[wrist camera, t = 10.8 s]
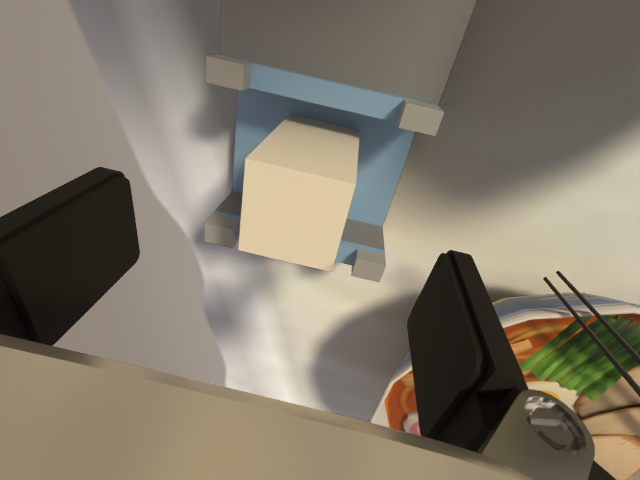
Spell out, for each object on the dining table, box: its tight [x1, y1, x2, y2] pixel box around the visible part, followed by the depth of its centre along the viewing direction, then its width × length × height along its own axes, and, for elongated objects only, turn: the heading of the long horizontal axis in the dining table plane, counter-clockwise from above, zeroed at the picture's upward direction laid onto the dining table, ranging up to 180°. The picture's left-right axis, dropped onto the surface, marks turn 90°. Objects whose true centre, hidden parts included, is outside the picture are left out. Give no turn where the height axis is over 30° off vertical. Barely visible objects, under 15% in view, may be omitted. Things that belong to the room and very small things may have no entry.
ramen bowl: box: [369, 271, 640, 480], centre depth 24 cm, size 25×23×8 cm
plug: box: [238, 114, 360, 272], centre depth 16 cm, size 4×4×8 cm
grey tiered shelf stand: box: [204, 0, 477, 282], centre depth 14 cm, size 24×10×6 cm, turn 169°
